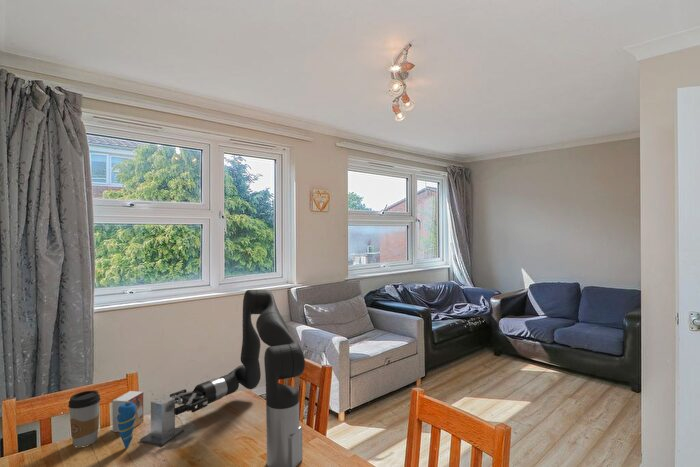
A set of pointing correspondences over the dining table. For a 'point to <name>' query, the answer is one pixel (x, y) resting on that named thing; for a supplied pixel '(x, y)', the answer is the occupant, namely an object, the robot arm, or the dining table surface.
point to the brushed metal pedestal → (162, 417)
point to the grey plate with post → (163, 441)
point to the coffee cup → (84, 417)
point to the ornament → (126, 421)
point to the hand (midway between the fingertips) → (167, 408)
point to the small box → (130, 396)
